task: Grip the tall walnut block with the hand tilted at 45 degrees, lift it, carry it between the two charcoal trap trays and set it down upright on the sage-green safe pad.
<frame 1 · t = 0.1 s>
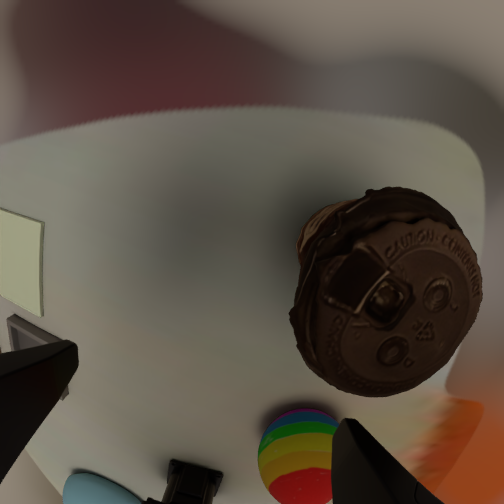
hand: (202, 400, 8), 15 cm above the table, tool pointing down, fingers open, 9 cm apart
coffee cup: (337, 243, 22), on the table
sugar bowl: (110, 493, 33), on the table
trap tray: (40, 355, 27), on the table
decorative egg: (301, 425, 26), on the table
safe pad: (12, 258, 24), on the table
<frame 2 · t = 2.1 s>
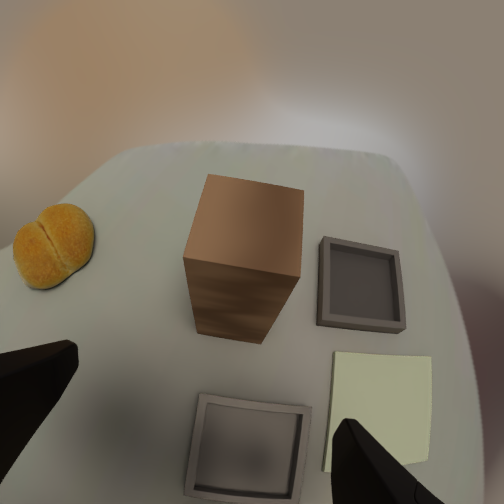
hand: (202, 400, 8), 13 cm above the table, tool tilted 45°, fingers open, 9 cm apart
walnut block: (233, 309, 24), on the table
bread roll: (57, 253, 25), on the table
safe pad: (383, 412, 21), on the table
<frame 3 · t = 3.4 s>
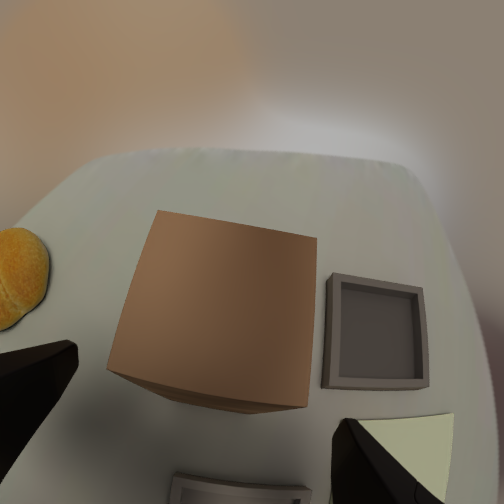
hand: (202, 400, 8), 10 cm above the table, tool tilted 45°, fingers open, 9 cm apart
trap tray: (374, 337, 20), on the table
walnut block: (216, 370, 18), on the table
bread roll: (11, 286, 19), on the table
safe pad: (395, 481, 14), on the table
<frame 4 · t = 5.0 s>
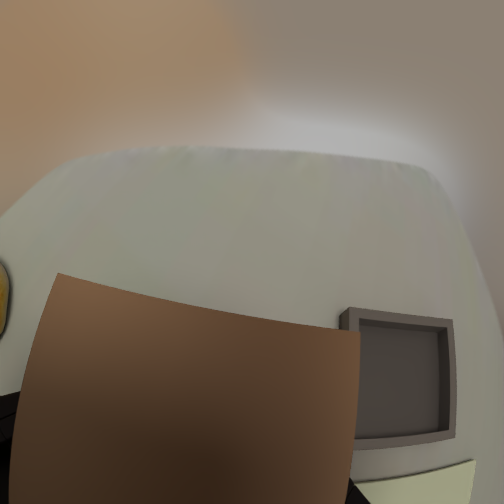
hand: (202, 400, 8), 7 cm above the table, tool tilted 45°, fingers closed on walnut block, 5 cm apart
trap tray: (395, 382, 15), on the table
walnut block: (201, 430, 13), on the table, touching gripper
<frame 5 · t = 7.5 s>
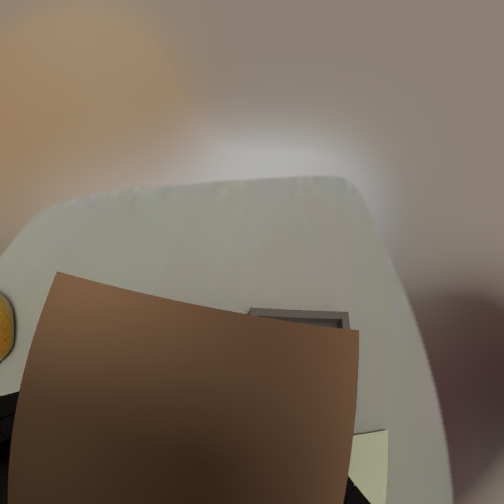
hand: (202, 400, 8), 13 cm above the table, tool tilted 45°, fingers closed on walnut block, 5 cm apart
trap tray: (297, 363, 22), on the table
walnut block: (200, 430, 13), point 7 cm above the table, touching gripper
safe pad: (328, 493, 17), on the table
when the fingers open (8 cm above the table, at t = 10.2 s): walnut block stays where it is, resting on safe pad.
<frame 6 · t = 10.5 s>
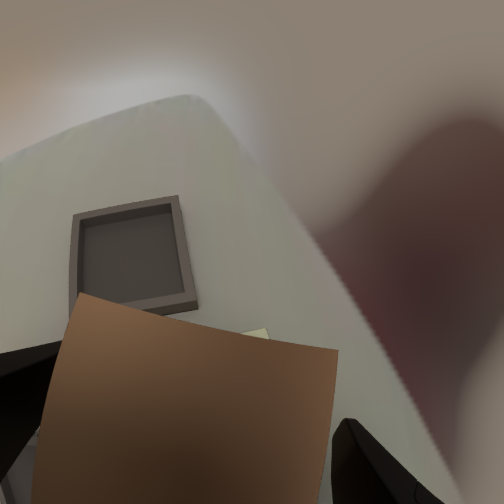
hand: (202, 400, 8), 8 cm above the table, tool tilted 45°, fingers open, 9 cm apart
walnut block: (202, 429, 14), resting on safe pad
safe pad: (202, 428, 14), on the table
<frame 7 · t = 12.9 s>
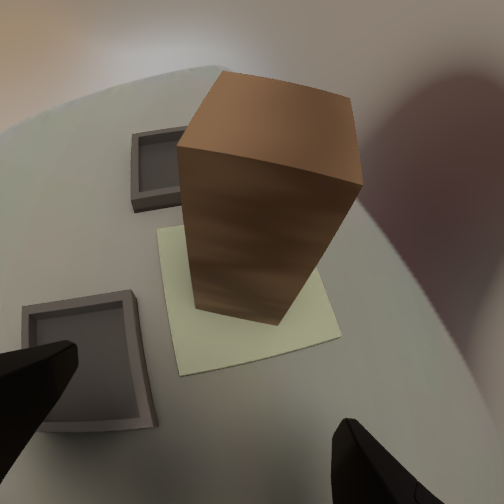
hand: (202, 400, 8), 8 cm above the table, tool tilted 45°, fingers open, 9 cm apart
walnut block: (244, 280, 19), resting on safe pad
safe pad: (243, 284, 19), on the table
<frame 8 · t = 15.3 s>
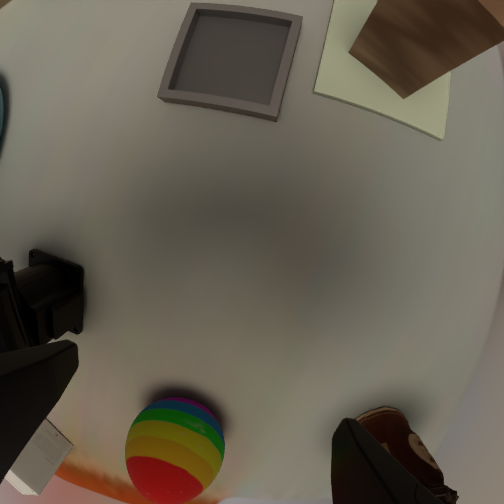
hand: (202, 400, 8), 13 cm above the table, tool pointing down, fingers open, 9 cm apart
coffee cup: (376, 427, 24), on the table
walnut block: (393, 55, 16), resting on safe pad
small box: (50, 435, 29), on the table
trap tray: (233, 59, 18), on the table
decorative egg: (186, 416, 25), on the table
safe pad: (391, 58, 17), on the table
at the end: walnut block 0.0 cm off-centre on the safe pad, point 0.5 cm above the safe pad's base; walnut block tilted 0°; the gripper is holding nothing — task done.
